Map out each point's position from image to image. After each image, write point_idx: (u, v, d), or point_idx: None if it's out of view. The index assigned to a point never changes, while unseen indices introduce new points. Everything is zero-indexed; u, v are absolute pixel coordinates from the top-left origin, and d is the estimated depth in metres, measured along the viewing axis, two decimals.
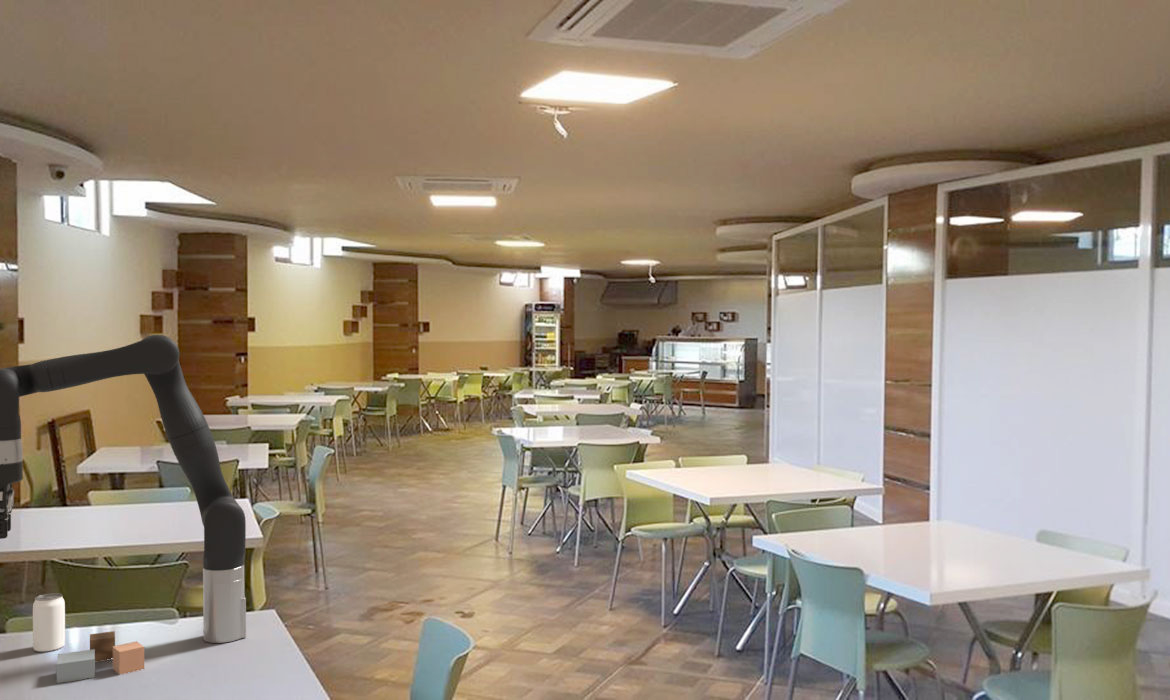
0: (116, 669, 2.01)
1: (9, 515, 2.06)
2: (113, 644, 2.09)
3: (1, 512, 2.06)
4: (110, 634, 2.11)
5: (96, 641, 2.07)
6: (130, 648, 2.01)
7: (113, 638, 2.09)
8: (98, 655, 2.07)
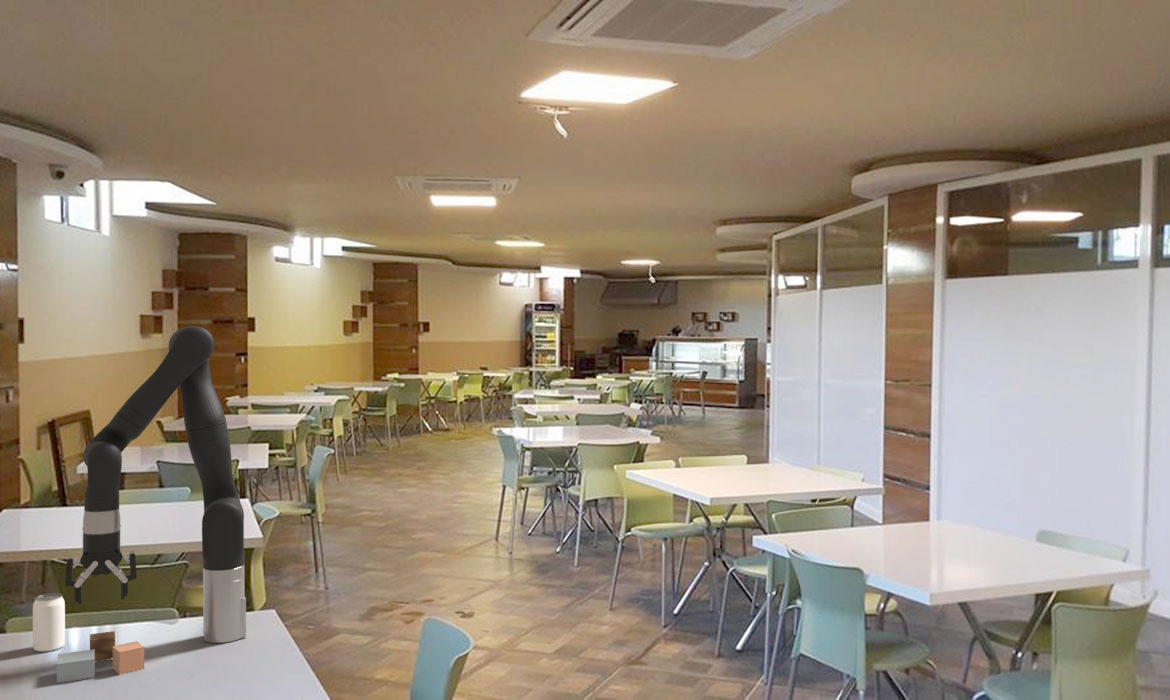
0: (116, 669, 2.01)
1: (81, 586, 2.09)
2: (113, 644, 2.09)
3: (80, 585, 2.07)
4: (110, 634, 2.11)
5: (96, 641, 2.07)
6: (130, 648, 2.01)
7: (113, 638, 2.09)
8: (98, 655, 2.07)
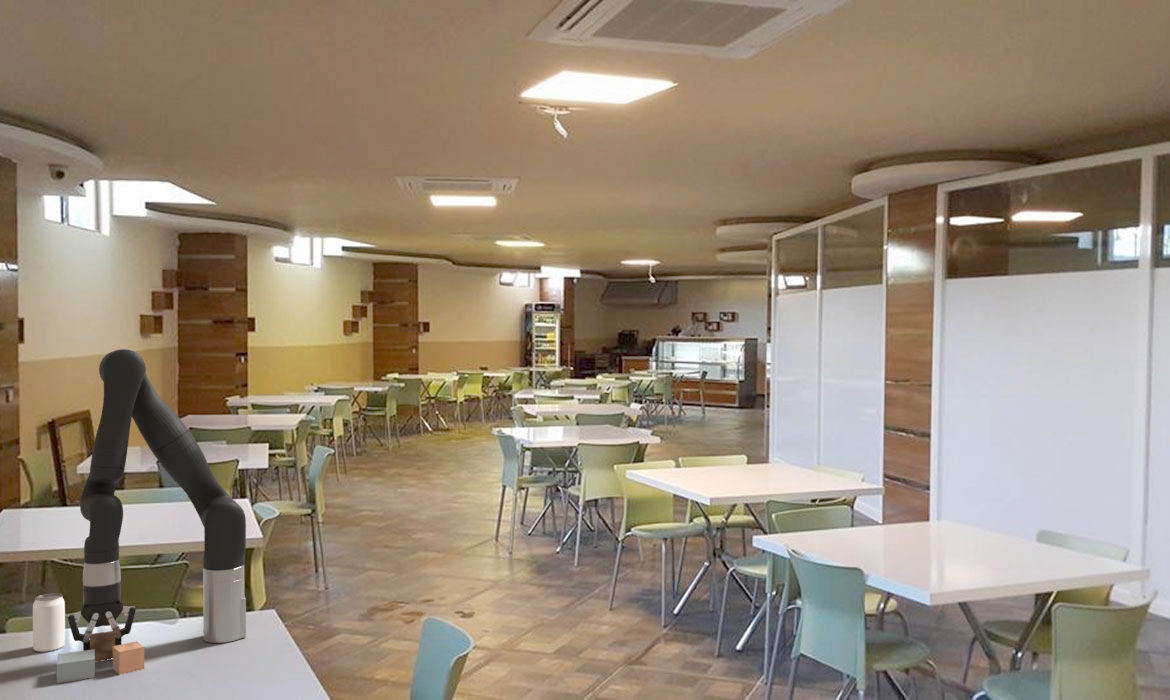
0: (116, 669, 2.01)
1: None
2: (113, 643, 2.09)
3: None
4: (110, 634, 2.11)
5: (96, 641, 2.07)
6: (130, 648, 2.01)
7: (113, 638, 2.09)
8: (99, 655, 2.07)
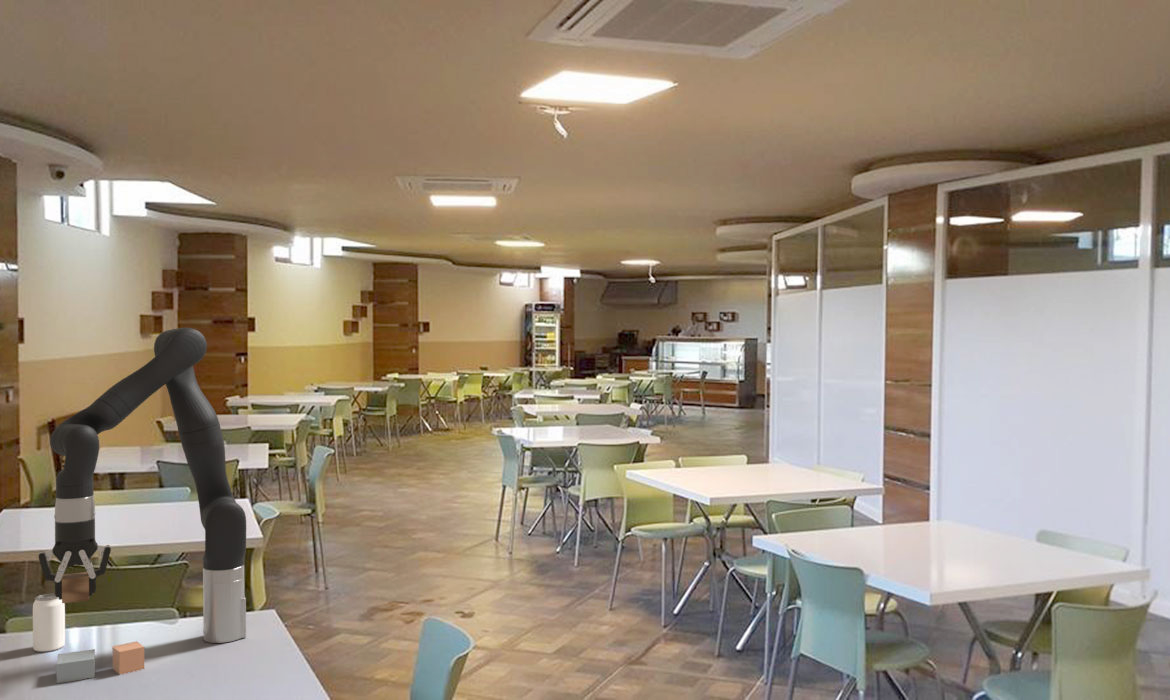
0: (116, 669, 2.01)
1: None
2: (87, 584, 1.98)
3: (61, 579, 1.97)
4: (84, 574, 2.00)
5: (68, 580, 1.96)
6: (130, 648, 2.01)
7: (87, 578, 1.98)
8: (71, 595, 1.96)
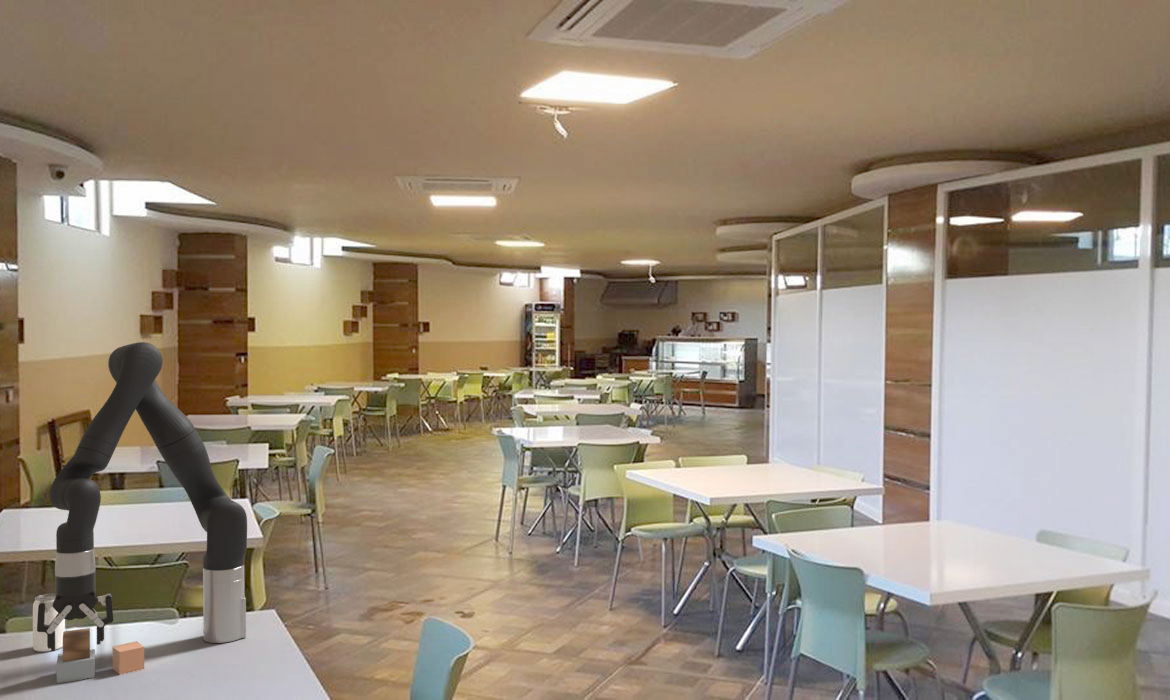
0: (116, 669, 2.01)
1: None
2: (88, 641, 1.98)
3: (53, 630, 1.96)
4: (85, 631, 2.00)
5: (69, 639, 1.96)
6: (130, 648, 2.01)
7: (88, 635, 1.98)
8: (72, 653, 1.96)
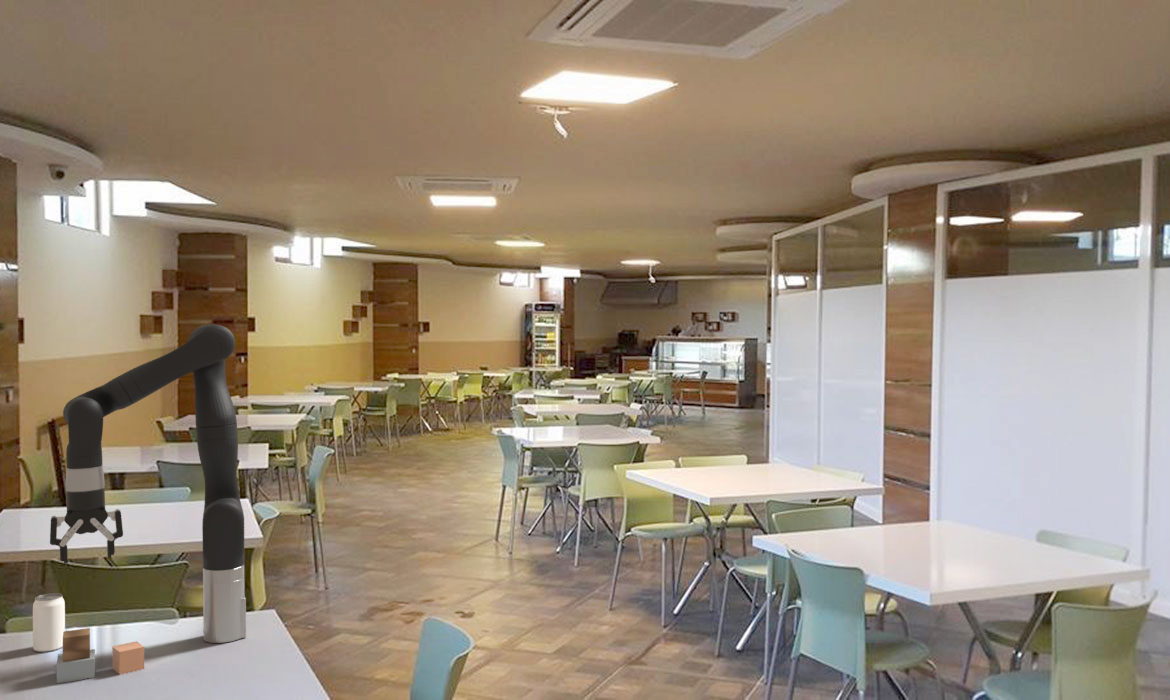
0: (116, 669, 2.01)
1: None
2: (88, 641, 1.98)
3: (65, 544, 2.04)
4: (85, 631, 2.00)
5: (69, 639, 1.96)
6: (130, 648, 2.01)
7: (88, 635, 1.98)
8: (72, 653, 1.96)
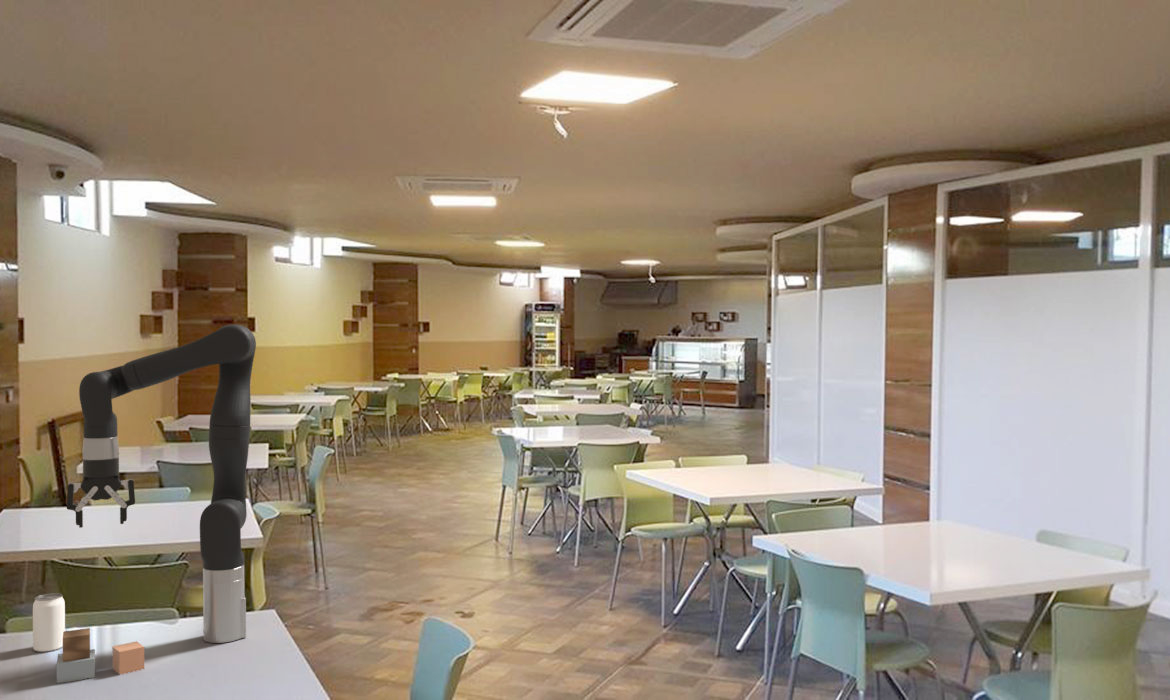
0: (116, 669, 2.01)
1: (82, 511, 2.18)
2: (88, 641, 1.98)
3: None
4: (85, 631, 2.00)
5: (69, 639, 1.96)
6: (130, 648, 2.01)
7: (88, 635, 1.98)
8: (72, 653, 1.96)
